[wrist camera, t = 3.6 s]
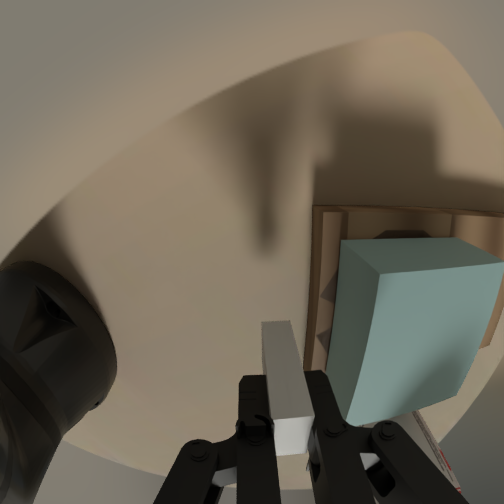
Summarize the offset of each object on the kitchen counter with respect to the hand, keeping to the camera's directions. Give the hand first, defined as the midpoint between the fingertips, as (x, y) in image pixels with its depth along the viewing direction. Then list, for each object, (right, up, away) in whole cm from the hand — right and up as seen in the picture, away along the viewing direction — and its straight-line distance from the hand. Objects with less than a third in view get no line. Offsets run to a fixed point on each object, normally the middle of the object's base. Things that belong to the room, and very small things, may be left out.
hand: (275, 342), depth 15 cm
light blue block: (+8, +1, +2) cm, 9 cm away
